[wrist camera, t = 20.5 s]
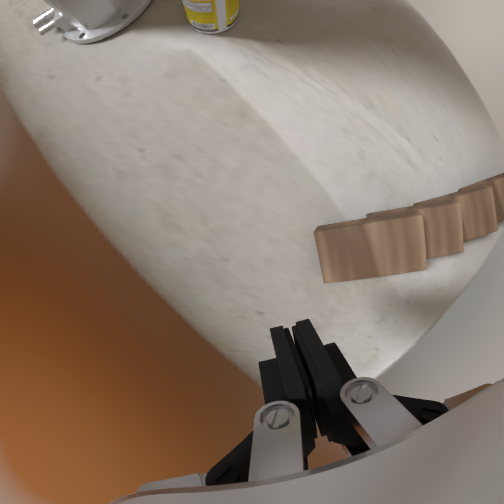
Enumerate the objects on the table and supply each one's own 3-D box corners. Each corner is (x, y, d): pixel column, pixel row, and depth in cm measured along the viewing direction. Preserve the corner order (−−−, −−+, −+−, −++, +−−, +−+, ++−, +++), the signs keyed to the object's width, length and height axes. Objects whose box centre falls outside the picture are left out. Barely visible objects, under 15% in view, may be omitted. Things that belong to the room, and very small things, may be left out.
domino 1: (323, 283, 26) (426, 269, 21) (313, 232, 24) (422, 215, 20) (327, 273, 28) (422, 260, 23) (317, 226, 27) (417, 210, 22)
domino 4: (474, 231, 25) (528, 209, 21) (465, 191, 24) (520, 170, 20) (467, 227, 27) (519, 206, 23) (458, 189, 26) (511, 169, 22)
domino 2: (375, 267, 26) (463, 251, 22) (368, 218, 24) (460, 202, 21) (373, 259, 28) (455, 245, 24) (366, 213, 27) (452, 199, 23)
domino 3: (427, 252, 25) (497, 230, 22) (418, 207, 24) (491, 187, 21) (421, 245, 28) (489, 225, 24) (413, 204, 27) (482, 184, 23)
